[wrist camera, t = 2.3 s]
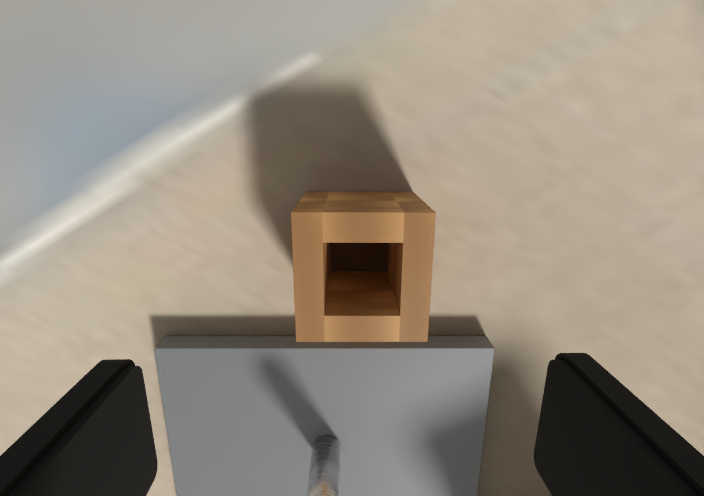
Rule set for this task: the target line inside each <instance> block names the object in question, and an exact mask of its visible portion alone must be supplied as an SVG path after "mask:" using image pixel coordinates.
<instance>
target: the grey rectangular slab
mask: <svg viewBox="0 0 704 496" xmlns="http://www.w3.org/2000/svg"><path fill="white" fill-rule="evenodd" d="M154 350H155V357H156V363H157V370H158V376H159V383H160V389H161V396H162V402H163V409H164V415H165V422H166V428H167V435H168V441H169V448H170V454H171V461H172V467H173V474H174V480H175V487H176V493H177V496H307V488H308V479H309V471H310V462H311V454H312V445H313V442H314V440H315V439H316V438H317V437H318V436H321V435H325V434H328V435H332V436H335V437H336V438H337V439H338V440H339V441H340V444H341V455H340V493H339V496H477V492H478V484H479V475H480V467H481V458H482V450H483V441H484V433H485V424H486V416H487V408H488V399H489V391H490V382H491V374H492V365H493V357H494V347H493V346H492V344H491V343H490V341H489V340H488V338H487V337H486V336H428V341H427V342H296V336H165V337H164V338H163V340H162V341H161V342H160V343H159V344H158V345H157V346H156V347H155V348H154Z"/></svg>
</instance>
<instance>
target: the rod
mask: <svg viewBox="0 0 704 496" xmlns="http://www.w3.org/2000/svg"><path fill="white" fill-rule="evenodd" d="M340 455H341V444H340V441H339V440H338V439H337V438H336V437H335V436H332V435H328V434H325V435H321V436H318V437H317V438H316V439H315V440H314V442H313V445H312V454H311V462H310V471H309V479H308V488H307V496H339V493H340Z"/></svg>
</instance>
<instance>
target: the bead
mask: <svg viewBox="0 0 704 496" xmlns="http://www.w3.org/2000/svg"><path fill="white" fill-rule="evenodd" d="M435 216H436V212H435V211H433V210H432V209H431V208H430V207H429V206H428V205H427V204H426V203H425V202H423V201H422V200H421V199H420V198H419V197H418V196H417V195H416V194H415V193H414V192H306V193H305V194H304V195H303V197H302V198H301V199H300V201H299V202H298V203H297V205H296V206H295V207H294V209H293V210H292V212H291V226H292V251H293V276H294V300H295V325H296V342H427V341H428V325H429V310H430V294H431V279H432V263H433V247H434V232H435ZM330 243H388V271H330Z"/></svg>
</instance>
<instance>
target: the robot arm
mask: <svg viewBox="0 0 704 496" xmlns="http://www.w3.org/2000/svg"><path fill="white" fill-rule="evenodd" d="M534 461H535V466H536V468H537V471H538V473H539V474H540V476H541V478H542V479H543V481H544V483H545V485H546V486H547V488H548V490H549V491H550V493H551V495H552V496H704V456H703V455H702V454H701V453H700V452H699V451H697V450H696V449H695V448H694V447H693V446H692V445H691V444H689V443H688V442H687V441H686V440H685V439H684V438H683V437H681V436H680V435H679V434H678V433H677V432H676V431H675V430H674V429H672V428H671V427H670V426H669V425H668V424H667V423H666V422H664V421H663V420H662V419H661V418H660V417H659V416H658V415H657V414H655V413H654V412H653V411H652V410H651V409H650V408H649V407H647V406H646V405H645V404H644V403H643V402H642V401H641V400H639V399H638V398H637V397H636V396H635V395H634V394H633V393H632V392H630V391H629V390H628V389H627V388H626V387H625V386H624V385H622V384H621V383H620V382H619V381H618V380H617V379H616V378H615V377H613V376H612V375H611V374H610V373H609V372H608V371H607V370H605V369H604V368H603V367H602V366H601V365H600V364H599V363H597V362H596V361H595V360H594V359H593V358H592V357H591V356H589V355H588V354H586V353H560V354H558V355H557V356H556V357H555V360H551V361H550V362H549V365H548V370H547V376H546V382H545V388H544V394H543V400H542V406H541V413H540V419H539V425H538V431H537V437H536V443H535V449H534ZM156 472H157V456H156V450H155V444H154V438H153V432H152V426H151V420H150V414H149V408H148V402H147V396H146V390H145V384H144V378H143V372H142V369H141V368H140V367H139V366H135V364H134V362H133V361H132V360H130V359H126V360H102V361H100V362H99V363H98V364H97V365H96V366H95V367H94V368H93V369H91V370H90V371H89V372H88V373H87V374H86V375H85V376H84V377H83V378H82V379H81V380H80V381H79V382H78V383H77V384H76V385H75V386H74V387H73V388H71V389H70V390H69V391H68V392H67V393H66V394H65V395H64V396H63V397H62V398H61V399H60V400H59V401H58V402H57V403H56V404H55V405H54V406H53V407H51V408H50V409H49V410H48V411H47V412H46V413H45V414H44V415H43V416H42V417H41V418H40V419H39V420H38V421H37V422H36V423H35V424H34V425H33V426H31V427H30V428H29V429H28V430H27V431H26V432H25V433H24V434H23V435H22V436H21V437H20V438H19V439H18V440H17V441H16V442H15V443H14V444H13V445H11V446H10V447H9V448H8V449H7V450H6V451H5V452H4V453H3V454H2V455H1V456H0V496H146V494H147V493H148V491H149V489H150V487H151V485H152V483H153V481H154V479H155V476H156Z"/></svg>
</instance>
